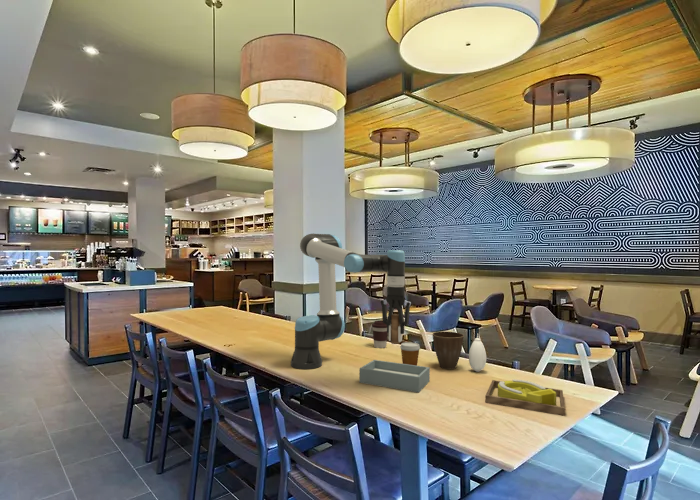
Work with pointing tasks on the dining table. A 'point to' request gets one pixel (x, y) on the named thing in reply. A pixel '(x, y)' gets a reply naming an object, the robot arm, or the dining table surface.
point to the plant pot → (448, 348)
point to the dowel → (394, 329)
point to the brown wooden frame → (525, 404)
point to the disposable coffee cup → (410, 353)
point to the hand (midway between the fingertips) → (395, 340)
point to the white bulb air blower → (477, 355)
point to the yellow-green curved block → (526, 392)
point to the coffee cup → (379, 334)
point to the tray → (395, 375)
